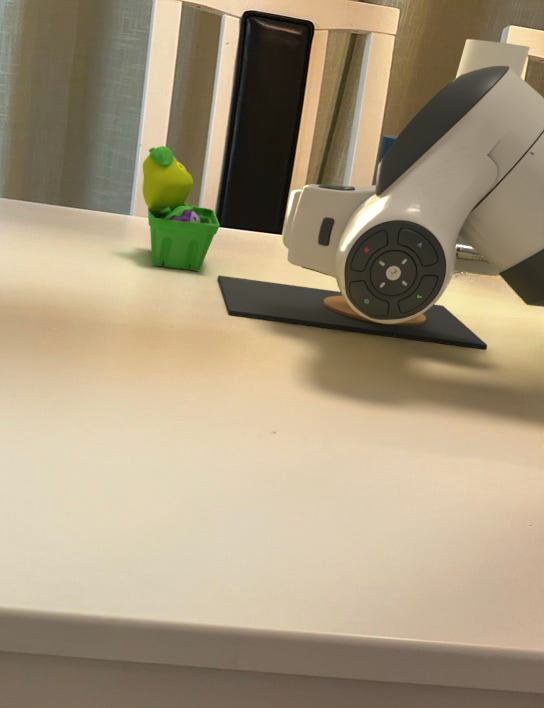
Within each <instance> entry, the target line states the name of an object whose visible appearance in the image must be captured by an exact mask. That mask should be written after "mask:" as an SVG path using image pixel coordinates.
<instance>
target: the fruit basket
mask: <svg viewBox="0 0 544 708" xmlns="http://www.w3.org/2000/svg"><path fill="white" fill-rule="evenodd" d="M148 152H149V154H148V155H147V157H145V159H144V161H143V162H142V174H143V175H142V176H143V179H142V180H143V181H142V197H143V200H144V203H145V205H146V206H147V218H148V226H149V227H150V228H149V229H150V230H149V231H150V249H151V263H152V265H153V266H155V267H165V268H169V269H177V270H186V271H187V270H189V271H192V272H193V271H194V272H200V271H201V268H202V267H203V263H204V260H205V258H206V256H207V254H208V251H209V248H210V247H211V245H212V241H213V239H214V236H216V234H217V232H218V230H219V228H220V227H221V224H220V222H219V220H218V217H217V215H216V213H215V210H213V209H210V208H206V207H199V206H195V205H194V204H192V205H189V204H188V203H187V202H186V200H187V199H188V197H189V194H190V192H191V190H192V188H193V186H194V179H193V176H192V174H190V172H188V171H187V168H186V166H184V165H183V164H182V163H181V162H180V161H178V160H177V158H176V157H175V155H174V153H173V151H172V150H171V149H170V148H168V146H164V145H160V146H157V147H151V148H149V149H148Z"/></svg>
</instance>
